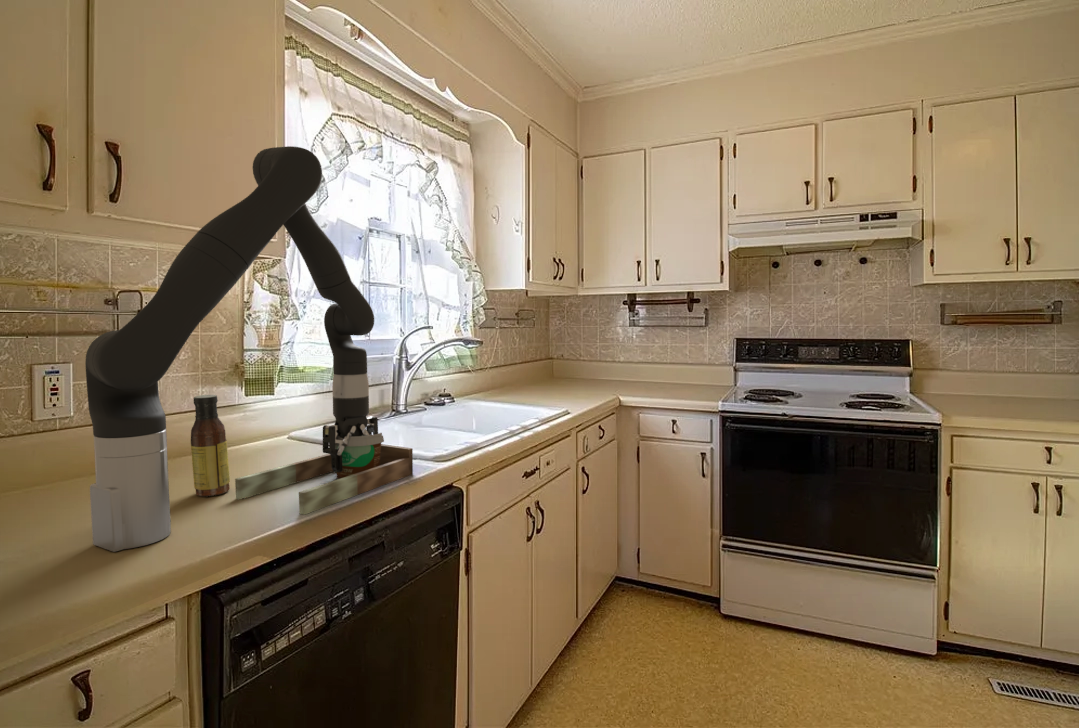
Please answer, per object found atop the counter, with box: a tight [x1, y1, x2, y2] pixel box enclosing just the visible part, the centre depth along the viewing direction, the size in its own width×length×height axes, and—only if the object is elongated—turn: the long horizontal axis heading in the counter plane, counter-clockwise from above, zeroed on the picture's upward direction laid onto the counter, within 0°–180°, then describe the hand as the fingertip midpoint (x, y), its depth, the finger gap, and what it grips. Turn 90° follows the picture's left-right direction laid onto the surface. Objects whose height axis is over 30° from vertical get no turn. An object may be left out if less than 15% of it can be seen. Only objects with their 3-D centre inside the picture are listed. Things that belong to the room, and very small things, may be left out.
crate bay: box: [234, 443, 414, 515], centre depth 117 cm, size 30×19×6 cm, turn 153°
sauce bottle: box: [190, 394, 231, 498], centre depth 110 cm, size 6×6×20 cm
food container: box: [335, 432, 385, 480], centre depth 122 cm, size 12×6×10 cm, turn 80°
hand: (352, 467), depth 122 cm, fingers open, 8 cm apart
